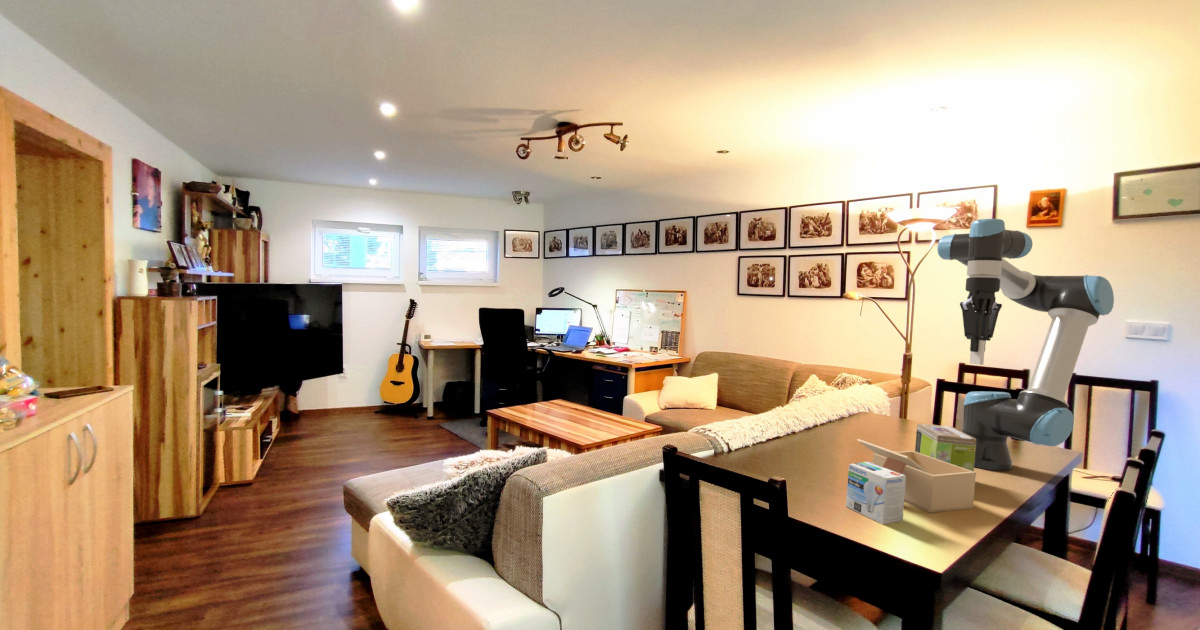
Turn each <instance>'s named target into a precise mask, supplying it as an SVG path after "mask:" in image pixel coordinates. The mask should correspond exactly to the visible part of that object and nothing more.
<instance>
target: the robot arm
mask: <svg viewBox="0 0 1200 630" xmlns="http://www.w3.org/2000/svg"><path fill="white" fill-rule="evenodd" d="M936 246H937V247H936V248H937V254H938V256H939V257H940V258H941V259H942V260H948V261H953V260H955V261H958V262H959V263H961V264H963V266H966V276H968V277H966V279H965V291H966V292H968V295H967V300H965V301H961V302H960V303H959V307H960V309H961V312H962V324H963V331H964V332H963V333H964V337H965V338H966V339H967V340H970V347H969V350H970V351H969V352H970V354H969V364H971V365H979V366H981V365H982V366H983V365H984V360H985V359H984V358H985V351H986V341H987V342H988V341H991V339H993V337H994V333H995V328H996V325H997V321H998V316H999V312H1000V310H1001V309H1002V307H1003V304H1002V303H998V302H997V301H996V293H998V292H1000V290H1001V292H1002V295H1004V297H1006V298H1007V299H1009V300H1011V301H1012V302H1015V303H1016V304H1018V305H1020V306H1022V307H1025V308H1028V309H1030V310H1033V311H1037V312H1042V313H1047V314H1048V316H1049V317H1050V319H1051V321H1050V324H1049V327H1048V330H1047V333H1046V336H1045V339H1044V342H1043V345H1042V347H1041V350H1040V354H1039V356H1038V357H1037V358H1038V359H1037V361H1036V365H1035V368H1034V370H1033V374H1032V376H1031V378H1030V379H1031V380H1030V382H1029V385H1028V387H1027V389H1025V390H1021V391H1020V392H1019V394H1018V397H1017V399H1015V398H1012V396H1011V393H1009V392H1005V391H984V390H983V391H982V390H981V391H976V390H975V391H969V392H967V393H966V395H965V397H964V403H963V415H962V416H963V417H962V418H963V419H962V432H964V433H965V434H967V435H969V436H971V437H973V438H975V439H976V451H975V462H974V468H979V469H984V470H989V471H1005V472H1006V471H1011V470H1012V469H1013V468H1012V467H1013V460H1012V457H1011V453H1010V450H1009V448H1008V443H1007V442H1008V441H1007V440H1008V438H1013V439H1017V440H1020V441H1025V442H1029V443H1032V444H1035V445H1040V446H1045V447H1057V446H1059V445H1060V444H1063V443H1064V442H1065V441H1066V440H1067V439H1068V437H1070V435H1071V433H1072V432H1073V431H1072V430H1073V428H1074V420H1075V418H1074V417H1075V416H1074V414H1073V412H1072V411H1071V410H1069V407H1070V406H1069V404H1068V402H1067V401H1066V399H1065V397H1066V395H1067V391H1068V388H1069V385H1070V382H1071V379H1072V377H1073V374H1074V370H1075V368H1076V364H1077V362H1078V359H1079V356H1080V353H1081V350H1082V346H1083V344H1084V341H1085V338H1086V336H1087V332H1088V329H1089V327H1090V326H1093V325H1095V324H1097V323H1098V321H1099V318H1100V316H1106V315H1109V314H1110V313H1111V312H1112V310H1113V308H1114V304H1115V297H1114V296H1115V295H1114V291H1113V287H1112V284H1111V283H1110V281H1109V280H1108V279H1107V278H1106V277H1104V276H1102V275H1089V274H1084V275H1038V274H1032V273H1031V272H1029V271H1025V270H1020V269H1019V268H1017V267H1016V266H1014V265H1013V264H1012V263H1010V262H1009V261H1007V260H1006V259H1009V260H1011V259H1013V260H1014V259H1020V258H1023V257H1025V256H1027V255H1028V254H1029V253H1030V252H1031V251H1032V248H1033V246H1034V245H1033V240H1032V237H1031V236H1030V235H1029V234H1027V233H1026V232H1022V231H1020V230H1010V229H1006V225H1005V221H1004V220H1003V219H1001V218H981V219H975V220H973V221H972V222H971V223H970V230H969V233H954V234H948V235H944V236H941V238H939V240H938V243H937V245H936Z"/></svg>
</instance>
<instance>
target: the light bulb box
mask: <svg viewBox="0 0 1200 630" xmlns="http://www.w3.org/2000/svg"><path fill="white" fill-rule="evenodd" d="M847 474H848V475H847V485H846V486H847V487H846V488H847V490H846V499H845V501H846V502H845V507H846V508H848V509H850V510H852V511H854V512H856V513H858V514H861V515H863V516H865V517H866V518H868V519H871V520H872V521H874V520H875V521H874V522H877V523H879V524H881V525H887V524H893V523H897V522H899V523H901V522H903V521H904V508H905V507H904V506H905V501H904V495H905V483H906V475H903V474H900V473H897V472H895V471H892V470H889V469H886V468H884V467H881V466H878V465H875V464H873V462H870V461H862V462H855V463H849V464H848V473H847Z"/></svg>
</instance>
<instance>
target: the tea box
mask: <svg viewBox="0 0 1200 630" xmlns="http://www.w3.org/2000/svg"><path fill="white" fill-rule="evenodd" d="M915 435H916V436H915V446H914V447H915V448H914V449H915V450H914V451H915V452H918V453H921V454H924V455H927V456H929V457H932V458H935V459H938V460H941V461H944V462H947V463H950V464H953V465H956V466H959V467H962V468H965V469H967V470H970V471H973V472H975V467H974V462H975V451H976V439H975V438H973V437H971V436H969V435H967V434H965V433H964V432H962V431H961V430H960V429H957V428H955V427H954V426H949V425H946V426H945V425H937V424H927V423H917V424H916V432H915Z"/></svg>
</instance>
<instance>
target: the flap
mask: <svg viewBox="0 0 1200 630" xmlns="http://www.w3.org/2000/svg"><path fill="white" fill-rule="evenodd" d="M856 441H857V442H858V443H860V444H862V445H863V446H864V447H866V448H867V449H868V450H870V451H871V452H872V453H876V454H878V455H881V456H884V457H886V458H887V459H886V461H885V463H884V465H883V467H884V468H886V469H889V470H892V471H895V472H897V473H900V474H902V472H903V470H904V468H905V466H906V465H907V466H910V467H913V468H915V469H918V470H921V471H923V472H927V470H926V469H924V468H923V467H922V466H920V465H919V464H917V463H916V462H915V461H913V460H912V459H911V458H909V457H908V456H905V455H902V454H900V453H897V452H898V451H893V450H890V449H888V448H885V447H882V446H880V445H876V444H874V443H871V442H869V441H866V440H863V439H860V438H857V439H856Z"/></svg>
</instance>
